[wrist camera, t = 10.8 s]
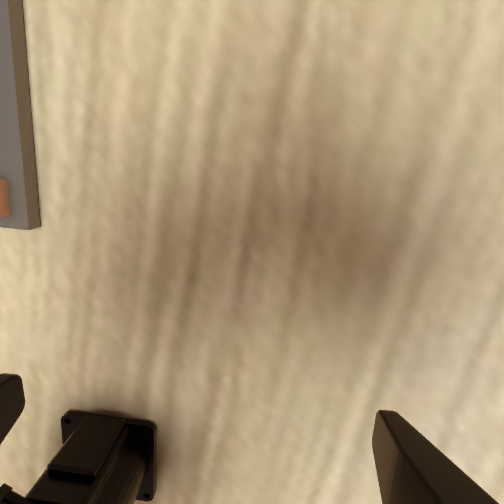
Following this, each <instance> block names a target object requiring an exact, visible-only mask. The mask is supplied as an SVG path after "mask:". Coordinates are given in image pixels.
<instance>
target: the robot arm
mask: <svg viewBox="0 0 504 504" xmlns="http://www.w3.org/2000/svg"><path fill="white" fill-rule="evenodd" d="M24 406H25V397H24V390H23V384H22V379H21V377H20V376H19V375H17V374H7V373H3V374H0V444H1V443H2V441H3V440H4V438H5V437H6V435H7V434H8V432H9V431H10V430H11V428H12V427H13V425H14V424H15V422H16V421H17V419H18V418H19V416H20V415H21V413H22V411H23V409H24ZM61 427H62V440H63V446H62V447H61V448H60V450H59V451H58V452H57V453H56V455H55V456H54V457H53V459H52V460H51V461H50V463H49V464H48V466H47V469H46V470H45V471H44V473H43V474H42V475H41V477H40V478H39V479H38V480H37V482H36V483H35V484H34V486H33V487H32V488H31V490H30V491H29V492H28V494H27V495H26V496H25V497H23V496H21V495H19V494H18V493H16V492H14V491H12V489H13V488H12V487H10V486H8V485H7V484H5V483H4V484H3V485H2V486H1V487H0V504H134V502H135V500H142V501H151V500H152V499H153V498H154V495H155V492H156V426H155V425H154V424H153V423H151V422H146V421H139V420H132V419H125V418H118V417H110V416H103V415H96V414H89V413H82V412H75V411H68V412H66V413H65V414H64V415H63V416H62V418H61ZM146 429H147V430H149V431H147V430H146ZM372 448H373V454H374V459H375V465H376V470H377V476H378V482H379V487H380V493H381V498H382V504H499V503H498V502H497V501H495V500H494V499H493V498H492V497H491V496H490V495H489V494H488V493H487V492H485V491H484V490H483V489H482V488H481V487H480V486H479V485H478V484H476V483H475V482H474V481H473V480H472V479H471V478H470V477H469V476H468V475H466V474H465V473H464V472H463V471H462V470H461V469H460V468H459V467H457V466H456V465H455V464H454V463H453V462H452V461H451V460H450V459H449V458H447V457H446V456H445V455H444V454H443V453H442V452H441V451H440V450H438V449H437V448H436V447H435V446H434V445H433V444H432V443H431V442H430V441H428V440H427V439H426V438H425V437H424V436H423V435H422V434H421V433H419V432H418V431H417V430H416V429H415V428H414V427H413V426H412V425H411V424H409V423H408V422H407V421H406V420H405V419H404V418H403V417H402V416H400V415H399V414H398V413H397V412H395V411H388V410H379V411H378V412H377V414H376V418H375V425H374V431H373V437H372Z"/></svg>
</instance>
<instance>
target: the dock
mask: <svg viewBox="0 0 504 504" xmlns="http://www.w3.org/2000/svg"><path fill="white" fill-rule="evenodd" d="M0 227H4V228H14V229H23V230H31V229H34V228H38V227H41V225H40V213H39V201H38V189H37V177H36V165H35V152H34V140H33V128H32V116H31V104H30V92H29V80H28V68H27V56H26V44H25V31H24V19H23V7H22V0H0Z"/></svg>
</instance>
